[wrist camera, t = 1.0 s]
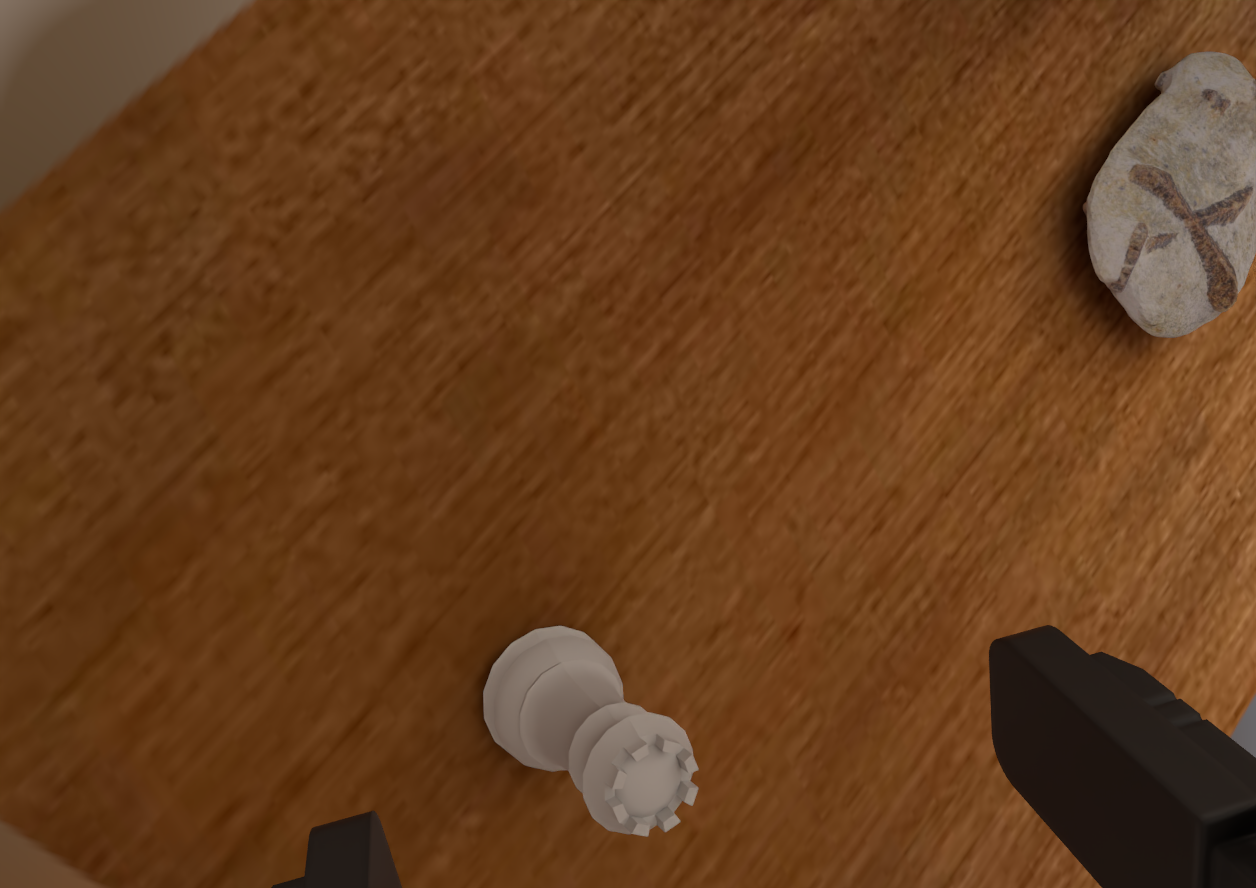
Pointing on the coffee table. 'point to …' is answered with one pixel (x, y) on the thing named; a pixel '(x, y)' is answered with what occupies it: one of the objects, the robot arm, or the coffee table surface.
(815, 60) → the coffee table surface
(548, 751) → the rook chess piece
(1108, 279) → the stone
